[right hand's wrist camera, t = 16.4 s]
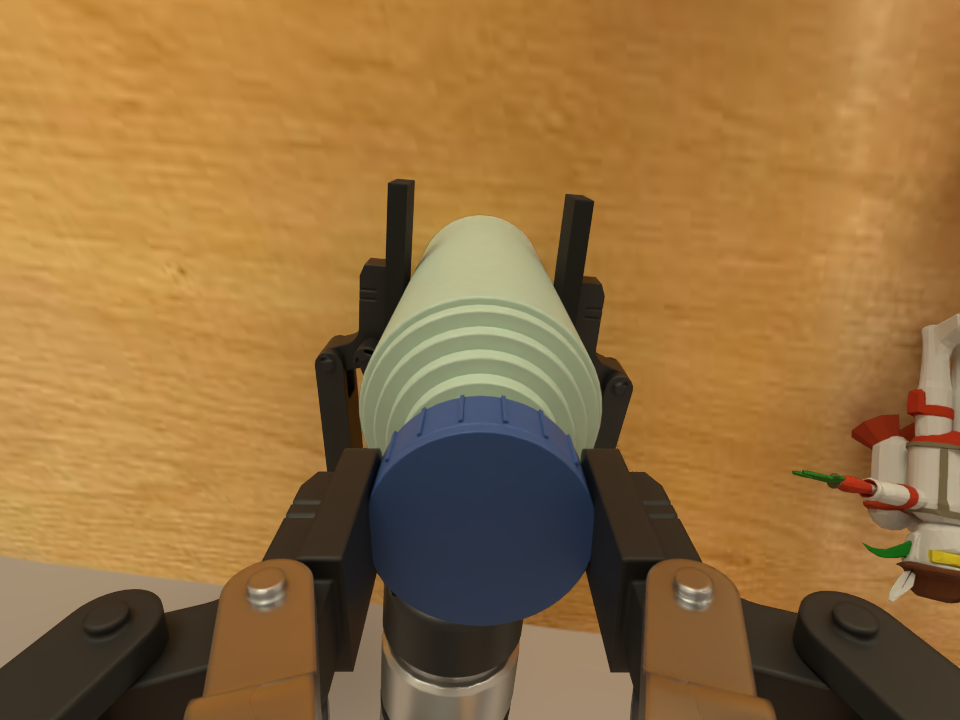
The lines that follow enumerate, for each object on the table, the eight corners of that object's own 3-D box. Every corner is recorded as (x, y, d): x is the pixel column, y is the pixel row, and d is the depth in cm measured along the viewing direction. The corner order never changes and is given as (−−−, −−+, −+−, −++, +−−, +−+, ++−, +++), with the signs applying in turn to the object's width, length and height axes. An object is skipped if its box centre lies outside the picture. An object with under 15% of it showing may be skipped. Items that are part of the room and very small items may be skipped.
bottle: (548, 222, 31) (687, 384, 10) (531, 339, 33) (615, 665, 13) (425, 208, 31) (311, 344, 10) (416, 326, 33) (307, 638, 12)
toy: (1130, 354, 31) (1142, 657, 28) (1006, 375, 37) (1004, 623, 34) (842, 280, 30) (819, 589, 26) (764, 315, 36) (738, 567, 33)
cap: (604, 403, 12) (621, 442, 10) (567, 581, 13) (578, 637, 12) (382, 380, 12) (367, 416, 10) (371, 563, 13) (356, 618, 12)
